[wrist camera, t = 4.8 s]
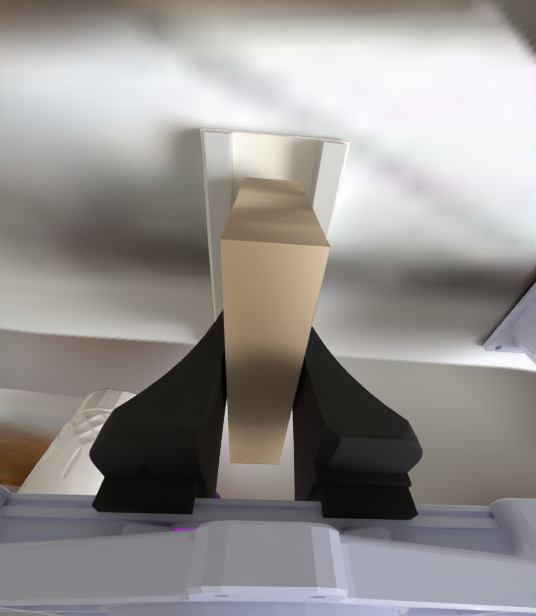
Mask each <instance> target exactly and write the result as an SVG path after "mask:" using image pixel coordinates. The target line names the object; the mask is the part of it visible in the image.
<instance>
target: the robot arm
mask: <svg viewBox="0 0 536 616" xmlns="http://www.w3.org/2000/svg"><path fill="white" fill-rule="evenodd" d="M483 347H484V348H485V350H486V351H494V352H512V353H525V354H526V355H527V356H528V357H529V358H530V359H531V360H532V361H533V362H534V363H535V364H536V282H535V284H534V285H533V286H532V287H531V288H530V290H529V291H528V292H527V293H526V294H525V296H524V297H523V298H522V299H521V300H520V302H519V303H518V304H517V305H516V306H515V307H514V309H513V310H512V311H511V312H510V313H509V315H508V316H507V317H506V318H505V319H504V321H503V322H502V323H501V324H500V325H499V327H498V328H497V329H496V330H495V331H494V333H493V334H492V335H491V336H490V337H489V338H488V340H487V341H486V342H485V343H484V345H483ZM226 401H227V380H226V357H225V333H224V310H222V311H221V313H220V315H219V316H218V318H217V319H216V321H215V322H214V324H213V325H212V326H211V328H210V329H209V330H208V332H207V333H206V334H205V335H204V337H203V338H202V339H201V340H200V341H199V342H198V344H197V345H196V346H195V347H194V348H193V349H192V350H191V351H190V352H189V353H188V354H187V355H186V356H185V357H184V358H183V359H182V361H180V362H179V363H178V364H177V365H176V366H175V367H173V368H172V369H171V370H170V371H169V372H168V373H166V374H165V375H164V376H162V377H161V378H160V379H159V380H157V381H156V382H155V383H153V384H152V385H150V386H149V387H148V388H146V389H145V390H144V391H142V392H141V393H139V394H138V395H136V396H134V397H133V398H131V399H130V400H128V401H126V402H125V403H123V404H122V405H120V406H118V407H117V408H115V409H114V410H113V411H112V413H111V414H110V416H109V417H108V419H107V420H106V422H105V423H104V425H103V426H102V428H101V430H100V432H99V434H98V436H97V437H96V439H95V441H94V443H93V445H92V447H91V449H90V451H89V457H90V459H91V461H92V463H93V464H94V465H95V466H96V468H97V469H98V470H99V471H100V472H101V474H102V475H103V476H104V479H103V481H102V483H101V486H100V488H99V490H98V492H97V494H96V495H73V494H38V493H10V491H9V490H8V489H7V488H5V487H4V486H2V485H0V614H27V615H68V616H536V499H525V498H524V499H523V498H505V499H500V500H497V501H495V502H493V503H492V504H490V506H458V505H422V504H414V501H413V499H412V496H411V493H410V491H409V488H408V487H410V486H411V481H410V479H409V476H408V473H407V472H409V470H411V469H412V468H413V467H414V466H415V465H416V464H417V463H418V462H419V460H420V459H421V457H422V453H423V450H422V448H421V446H420V444H419V442H418V439H417V437H416V435H415V433H414V431H413V429H412V427H411V426H410V424H409V422H408V421H407V420H406V419H404V418H403V417H402V416H400V415H399V414H397V413H396V412H394V411H393V410H392V409H390V408H389V407H387V406H386V405H384V404H383V403H382V402H381V401H379V400H378V399H377V398H376V397H374V396H373V395H372V394H370V392H368V391H367V390H366V389H365V388H364V387H363V386H362V385H361V384H359V383H358V382H357V381H356V380H355V379H354V378H353V377H352V376H351V375H350V374H349V373H348V372H347V371H346V370H345V369H344V368H343V367H342V366H341V365H340V364H339V362H338V361H337V360H336V359H335V358H334V356H333V355H332V354H331V353H330V351H329V350H328V349H327V347H326V346H325V345H324V343H323V342H322V340H321V339H320V337H319V336H318V335H317V333H316V332H315V330H314V328H313V327H312V326H311V331H310V335H309V339H308V343H307V347H306V352H305V356H304V360H303V364H302V368H301V373H300V377H299V381H298V385H297V390H296V394H295V398H294V402H293V406H292V411H293V437H294V475H295V478H294V479H295V501H283V500H280V501H279V500H247V499H215V494H216V484H217V475H218V466H219V457H220V448H221V440H222V431H223V423H224V415H225V407H226ZM174 528H177V529H195V530H182V531H175V530H174ZM339 532H340V534H339Z"/></svg>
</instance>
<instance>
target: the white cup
mask: <svg viewBox="0 0 536 616" xmlns="http://www.w3.org/2000/svg"><path fill="white" fill-rule="evenodd" d="M134 396H136V395H135V394H132V393H129V392H126V391H123V390H115V389H103V390H96V391H94V392H93V393H91V394H90V395H89V396H87V397H86V399H85V400H84V401H83V403H82V404H81V406H80V407H79V409H78V410H77V411H76V413H75V414H74V416H73V417H72V418H71V419H70V420H69V421H68V422H67V424H66V425H65V426H64V428H63V429H62V431H61V432H60V434H59V435H58V436H57V437H56V439H55V440H54V441H53V443H52V444H51V445H50V446H49V448H48V449H47V451H46V452H45V453H44V455H43V456H42V458H41V459H40V460H39V462H38V463H37V465H36V466H35V467H34V469H33V470H32V472H31V473H30V474H29V476H28V477H27V479H26V480H25V481H24V483H23V484H22V486H21V487H20V488H19V490H18V491H17V493H38V494H73V495H96V494H97V492H98V490H99V488H100V486H101V483H102V481H103V479H104V476H103V475H102V474H101V472H100V471H99V470H98V469H97V468H96V466H95V465H94V464H93V463H92V461H91V459H90V457H89V451H90V449H91V447H92V445H93V443H94V441H95V439H96V437H97V436H98V434H99V432H100V430H101V428H102V426H103V425H104V423H105V422H106V420H107V419H108V417H109V416H110V414H111V413H112V411H113V410H114V409H115V408H117V407H118V406H120V405H122V404H123V403H125V402H126V401H128V400H130V399H131V398H133V397H134Z"/></svg>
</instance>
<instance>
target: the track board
mask: <svg viewBox="0 0 536 616" xmlns="http://www.w3.org/2000/svg"><path fill="white" fill-rule="evenodd" d="M200 139H201V153H202V166H203V180H204V193H205V207H206V220H207V233H208V247H209V260H210V274H211V287H212V301H213V314H214V322H215V321H216V319H217V318H218V316H219V315H220V313H221V311H222V310H223V287H222V263H221V240H220V239H221V237H222V234H223V231H224V229H225V226H226V224H227V221H228V218H229V216H230V213H231V211H232V208H233V205H234V203H235V200H236V198H237V195H238V192H239V190H240V187H241V185H242V182H243V179H244V177H252V178H264V179H277V180H289V181H300V182H301V184H302V186H303V188H304V190H305V192H306V195H307V197H308V199H309V201H310V203H311V206H312V208H313V210H314V212H315V214H316V217H317V219H318V221H319V223H320V225H321V228H322V230H323V232H324V234H325V236H326V239H327V241H328V238H329V234H330V229H331V225H332V221H333V216H334V212H335V208H336V203H337V199H338V194H339V190H340V186H341V181H342V177H343V172H344V168H345V164H346V159H347V155H348V150H349V146H350V142H348V141H345V140H334V139H323V138H312V137H300V136H289V135H278V134H267V133H255V132H244V131H233V130H222V129H211V128H202V129H200Z"/></svg>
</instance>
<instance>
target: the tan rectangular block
mask: <svg viewBox="0 0 536 616" xmlns="http://www.w3.org/2000/svg"><path fill="white" fill-rule="evenodd" d="M220 240H221V263H222V287H223V310H224V333H225V357H226V380H227V402H228V403H227V404H228V427H229V450H230V463H246V464H273V465H274V464H275V465H278V464H279V461H280V457H281V453H282V448H283V444H284V440H285V436H286V432H287V427H288V423H289V419H290V414H291V411H292V406H293V402H294V398H295V394H296V390H297V385H298V381H299V377H300V373H301V368H302V364H303V360H304V356H305V352H306V347H307V343H308V339H309V335H310V331H311V326H312V322H313V318H314V314H315V310H316V305H317V301H318V297H319V293H320V289H321V284H322V280H323V276H324V272H325V268H326V263H327V259H328V255H329V251H330V245H329V243H328V241H327V239H326V236H325V234H324V232H323V230H322V228H321V225H320V223H319V221H318V219H317V217H316V214H315V212H314V210H313V208H312V206H311V203H310V201H309V199H308V197H307V195H306V192H305V190H304V188H303V186H302V184H301V182H300V181H289V180H277V179H264V178H252V177H244V179H243V182H242V185H241V187H240V190H239V192H238V195H237V198H236V200H235V203H234V205H233V208H232V211H231V213H230V216H229V218H228V221H227V224H226V226H225V229H224V231H223V234H222V237H221V239H220Z"/></svg>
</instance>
